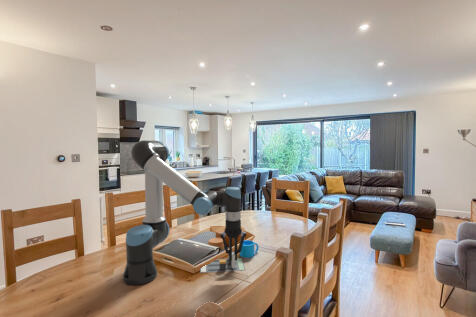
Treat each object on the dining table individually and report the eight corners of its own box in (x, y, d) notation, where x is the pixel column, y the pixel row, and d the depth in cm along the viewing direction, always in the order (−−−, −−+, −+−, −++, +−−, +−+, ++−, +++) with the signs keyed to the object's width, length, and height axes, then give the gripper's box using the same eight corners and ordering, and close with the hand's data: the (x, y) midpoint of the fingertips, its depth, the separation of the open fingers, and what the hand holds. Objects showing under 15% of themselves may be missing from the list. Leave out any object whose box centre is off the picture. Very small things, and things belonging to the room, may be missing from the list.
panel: (199, 275, 126) (199, 272, 126) (200, 262, 140) (200, 259, 140) (245, 273, 128) (245, 270, 128) (242, 260, 142) (242, 257, 142)
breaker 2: (229, 265, 133) (229, 257, 133) (228, 262, 136) (228, 255, 135) (235, 264, 134) (235, 256, 133) (234, 262, 136) (234, 254, 136)
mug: (245, 261, 141) (245, 246, 141) (236, 256, 148) (236, 242, 147) (262, 256, 148) (262, 242, 147) (253, 251, 155) (253, 237, 154)
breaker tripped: (219, 270, 128) (219, 261, 128) (219, 267, 130) (219, 259, 130) (225, 269, 128) (225, 261, 128) (225, 267, 130) (225, 259, 130)
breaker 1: (228, 260, 138) (228, 253, 138) (228, 258, 141) (228, 251, 140) (234, 260, 139) (234, 252, 138) (233, 258, 141) (233, 250, 141)
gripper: (220, 221, 124) (220, 270, 125) (247, 220, 125) (247, 269, 127) (219, 217, 131) (219, 263, 133) (245, 216, 133) (245, 262, 134)
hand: (233, 266), depth 130 cm, fingers closed
